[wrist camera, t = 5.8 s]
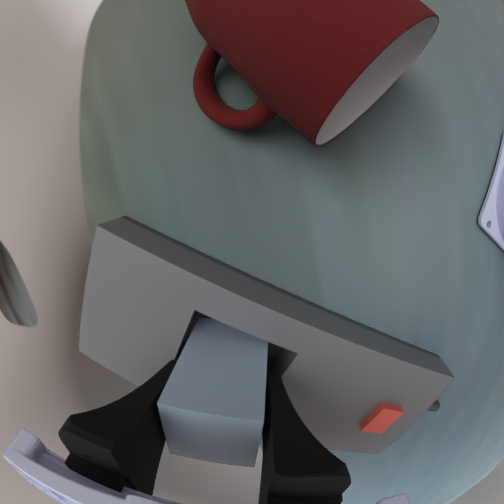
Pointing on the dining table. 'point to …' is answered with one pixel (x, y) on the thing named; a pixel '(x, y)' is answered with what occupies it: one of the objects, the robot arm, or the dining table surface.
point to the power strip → (259, 325)
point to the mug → (307, 57)
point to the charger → (216, 396)
